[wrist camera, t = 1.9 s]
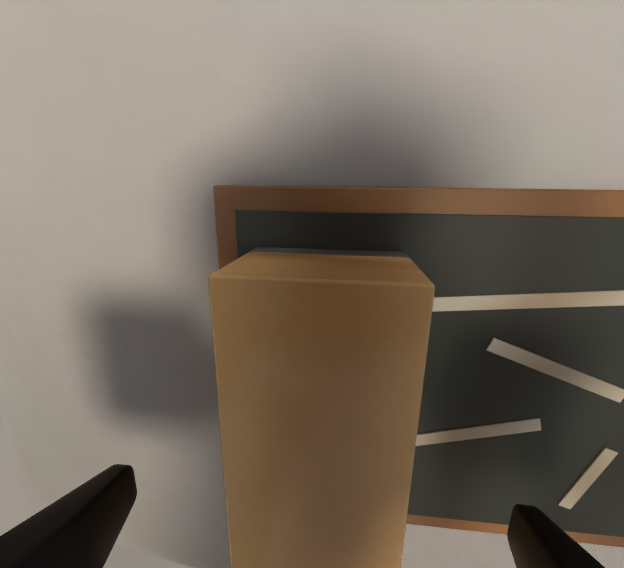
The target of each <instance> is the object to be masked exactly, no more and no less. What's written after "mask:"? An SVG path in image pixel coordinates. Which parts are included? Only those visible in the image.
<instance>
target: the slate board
mask: <svg viewBox="0 0 624 568" xmlns="http://www.w3.org/2000/svg"><path fill="white" fill-rule="evenodd" d="M214 201H215V216H216V230H217V245H218V260H219V269H221V268H223V267H224V266H226V265H228V264H229V263H231V262H233V261H235V260H236V259H238V258H240V257H241V256H243V255H245V254H247V253H249V252H250V251H251V250H253V249H255V248H257V247H274V248H305V249H336V250H367V251H398V252H405V253H406V254H407V255H408V256H409V257H410V259H411V260H412V261H413V262H414V263H415V264H416V265H417V266H418V268H419V269H420V270H421V271H422V272H423V273H424V274H425V275H426V276H427V277H428V279H429V280H430V281H431V282H432V283H433V284H434V286H435V292H434V300H433V308H432V317H431V325H430V333H429V341H428V349H427V357H426V365H425V373H424V382H423V390H422V398H421V406H420V414H419V422H418V430H417V438H416V447H415V455H414V463H413V471H412V479H411V487H410V495H409V503H408V512H407V520H406V524H414V525H424V526H433V527H442V528H451V529H460V530H470V531H479V532H488V533H497V534H506V535H507V532H508V526H509V522H510V518H511V514H512V510H513V507H514V506H515V505H516V504H524V505H532V506H535V507H537V508H538V509H540V510H541V511H542V512H543V513H544V514H545V515H547V516H548V517H549V518H550V519H551V520H552V521H553V522H554V523H555V524H557V525H558V526H559V527H560V528H561V529H562V530H563V531H564V532H566V533H567V534H568V535H569V536H570V537H571V538H572V539H573V540H574V541H576V542H580V543H589V544H598V545H607V546H616V547H624V190H564V189H477V188H390V187H303V186H214Z"/></svg>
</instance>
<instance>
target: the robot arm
mask: <svg viewBox="0 0 624 568" xmlns="http://www.w3.org/2000/svg"><path fill="white" fill-rule="evenodd" d="M136 495H137V488H136V482H135V476H134V471H133V468H132V467H131V466H130V465H121V464H116V465H113V466H111V467H109V468H108V469H106V470H104V471H103V472H101V473H100V474H98V475H97V476H95V477H93V478H92V479H90V480H89V481H87V482H85V483H84V484H82V485H81V486H79V487H78V488H76V489H74V490H73V491H71V492H70V493H68V494H66V495H65V496H63V497H62V498H60V499H59V500H57V501H55V502H54V503H52V504H51V505H49V506H48V507H46V508H44V509H43V510H41V511H40V512H38V513H36V514H35V515H33V516H32V517H30V518H29V519H27V520H25V521H24V522H22V523H21V524H19V525H17V526H16V527H14V528H13V529H11V530H10V531H8V532H6V533H5V534H3V535H2V536H0V568H103V566H104V564H105V562H106V560H107V558H108V556H109V554H110V552H111V550H112V548H113V546H114V544H115V542H116V539H117V537H118V535H119V533H120V531H121V529H122V527H123V525H124V523H125V521H126V519H127V517H128V515H129V513H130V510H131V508H132V506H133V504H134V502H135V499H136ZM507 535H508V542H509V545H510V549H511V552H512V555H513V558H514V561H515V564H516V567H517V568H605V567H604V566H602V565H601V564H600V563H599V562H598V561H597V560H596V559H595V558H593V557H592V556H591V555H590V554H589V553H588V552H587V551H586V550H585V549H583V548H582V547H581V546H580V545H579V544H578V543H577V542H576V541H574V540H573V539H572V538H571V537H570V536H569V535H568V534H567V533H566V532H564V531H563V530H562V529H561V528H560V527H559V526H558V525H557V524H555V523H554V522H553V521H552V520H551V519H550V518H549V517H548V516H547V515H545V514H544V513H543V512H542V511H541V510H540V509H538V508H537V507H535V506H532V505H524V504H516V505H515V506H514V507H513V510H512V514H511V518H510V522H509V526H508V532H507Z"/></svg>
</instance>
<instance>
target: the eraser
mask: <svg viewBox="0 0 624 568" xmlns="http://www.w3.org/2000/svg"><path fill="white" fill-rule="evenodd" d="M208 280H209V292H210V305H211V318H212V331H213V343H214V356H215V369H216V382H217V394H218V407H219V420H220V433H221V445H222V458H223V471H224V484H225V496H226V509H227V522H228V535H229V547H230V560H231V568H401V560H402V552H403V544H404V536H405V528H406V520H407V512H408V503H409V495H410V487H411V479H412V471H413V463H414V455H415V447H416V438H417V430H418V422H419V414H420V406H421V398H422V390H423V382H424V373H425V365H426V357H427V349H428V341H429V333H430V325H431V317H432V308H433V300H434V292H435V286H434V284H433V283H432V282H431V281H430V280H429V279H428V277H427V276H426V275H425V274H424V273H423V272H422V271H421V270H420V269H419V268H418V266H417V265H416V264H415V263H414V262H413V261H412V260H411V259H410V257H409V256H408V255H407V254H406V253H405V252H398V251H367V250H336V249H305V248H274V247H257V248H255V249H253V250H251V251H250V252H249V253H247V254H245V255H243V256H241V257H240V258H238V259H236V260H235V261H233V262H231V263H229V264H228V265H226V266H224V267H223V268H221V269H219V270H217V271H216V272H214V273H212V274H210V275H209V278H208Z"/></svg>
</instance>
